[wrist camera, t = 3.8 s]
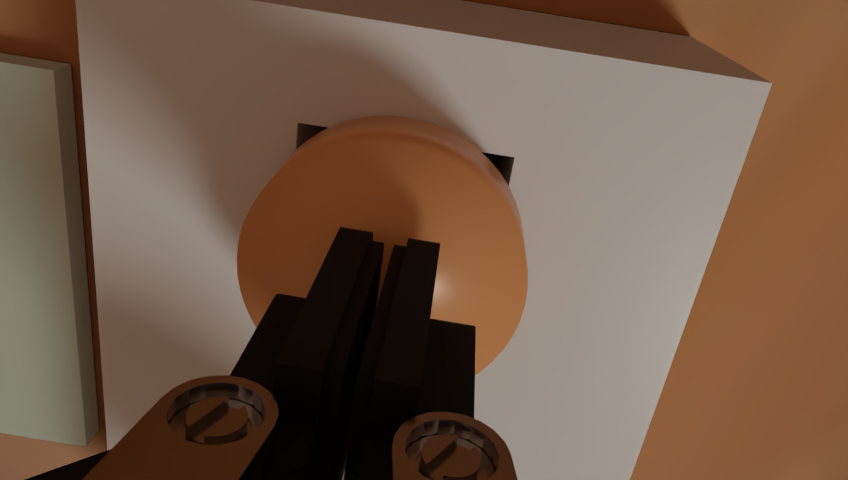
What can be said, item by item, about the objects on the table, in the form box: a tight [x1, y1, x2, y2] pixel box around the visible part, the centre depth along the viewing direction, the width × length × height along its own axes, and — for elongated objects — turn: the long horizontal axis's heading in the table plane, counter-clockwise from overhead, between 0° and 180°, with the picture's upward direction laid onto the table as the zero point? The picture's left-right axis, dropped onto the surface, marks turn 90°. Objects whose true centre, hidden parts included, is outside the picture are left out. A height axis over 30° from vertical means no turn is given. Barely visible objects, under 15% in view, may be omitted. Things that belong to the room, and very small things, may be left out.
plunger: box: [237, 116, 528, 375], centre depth 15 cm, size 5×5×6 cm
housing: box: [75, 0, 772, 480], centre depth 18 cm, size 18×12×5 cm, turn 172°
